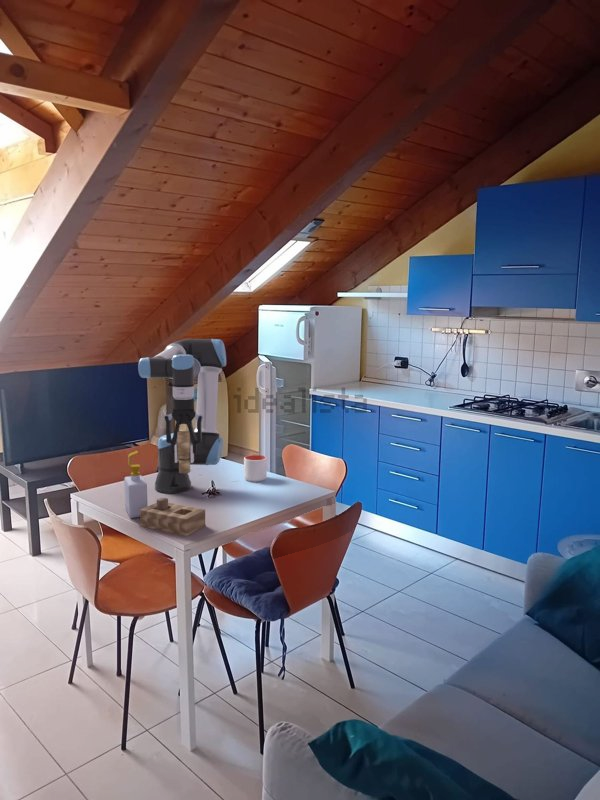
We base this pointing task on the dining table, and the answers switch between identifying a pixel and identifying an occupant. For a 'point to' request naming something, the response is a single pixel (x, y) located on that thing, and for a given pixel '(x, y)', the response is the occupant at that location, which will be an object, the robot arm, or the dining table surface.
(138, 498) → the soap bottle
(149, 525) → the block
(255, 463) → the cup
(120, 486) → the dining table surface
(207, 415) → the robot arm
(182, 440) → the leg
